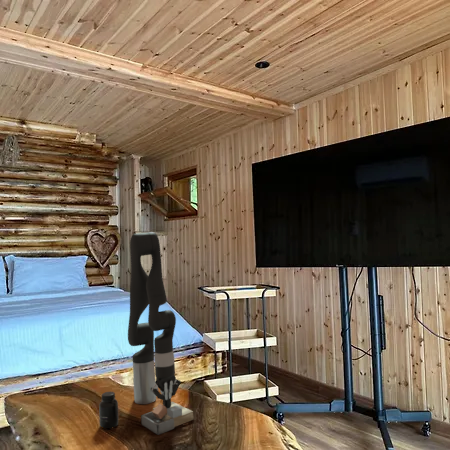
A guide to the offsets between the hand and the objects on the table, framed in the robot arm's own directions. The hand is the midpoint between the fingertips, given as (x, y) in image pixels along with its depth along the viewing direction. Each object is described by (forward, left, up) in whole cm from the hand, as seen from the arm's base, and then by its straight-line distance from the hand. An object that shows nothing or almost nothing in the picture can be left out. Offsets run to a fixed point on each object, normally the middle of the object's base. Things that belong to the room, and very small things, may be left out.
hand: (167, 408), depth 160 cm
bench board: (0, +2, -4) cm, 5 cm away
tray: (+2, -6, -4) cm, 8 cm away
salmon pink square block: (0, -3, -1) cm, 3 cm away
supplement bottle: (-12, -18, -4) cm, 22 cm away
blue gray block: (+5, 0, -1) cm, 5 cm away
